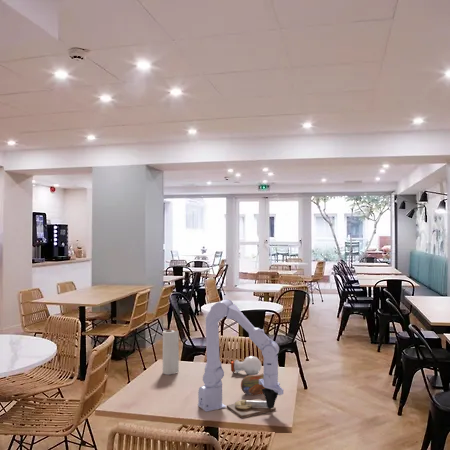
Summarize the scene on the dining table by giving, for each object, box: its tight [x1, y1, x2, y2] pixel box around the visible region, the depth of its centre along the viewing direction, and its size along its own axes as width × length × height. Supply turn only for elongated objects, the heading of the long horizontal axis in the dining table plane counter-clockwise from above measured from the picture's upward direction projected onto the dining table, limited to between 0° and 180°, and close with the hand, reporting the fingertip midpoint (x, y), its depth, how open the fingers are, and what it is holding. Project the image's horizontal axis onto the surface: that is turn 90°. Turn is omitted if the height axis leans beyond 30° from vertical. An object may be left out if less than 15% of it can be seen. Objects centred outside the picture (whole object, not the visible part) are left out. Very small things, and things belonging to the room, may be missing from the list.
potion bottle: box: [230, 355, 262, 376], centre depth 236 cm, size 9×10×15 cm
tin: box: [240, 373, 265, 397], centre depth 208 cm, size 15×3×8 cm, turn 105°
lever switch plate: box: [226, 398, 277, 419], centre depth 190 cm, size 16×12×1 cm
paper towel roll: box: [162, 329, 180, 375], centre depth 238 cm, size 7×6×21 cm
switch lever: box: [234, 399, 268, 410], centre depth 189 cm, size 14×7×2 cm, turn 84°
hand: (270, 407), depth 186 cm, fingers closed
